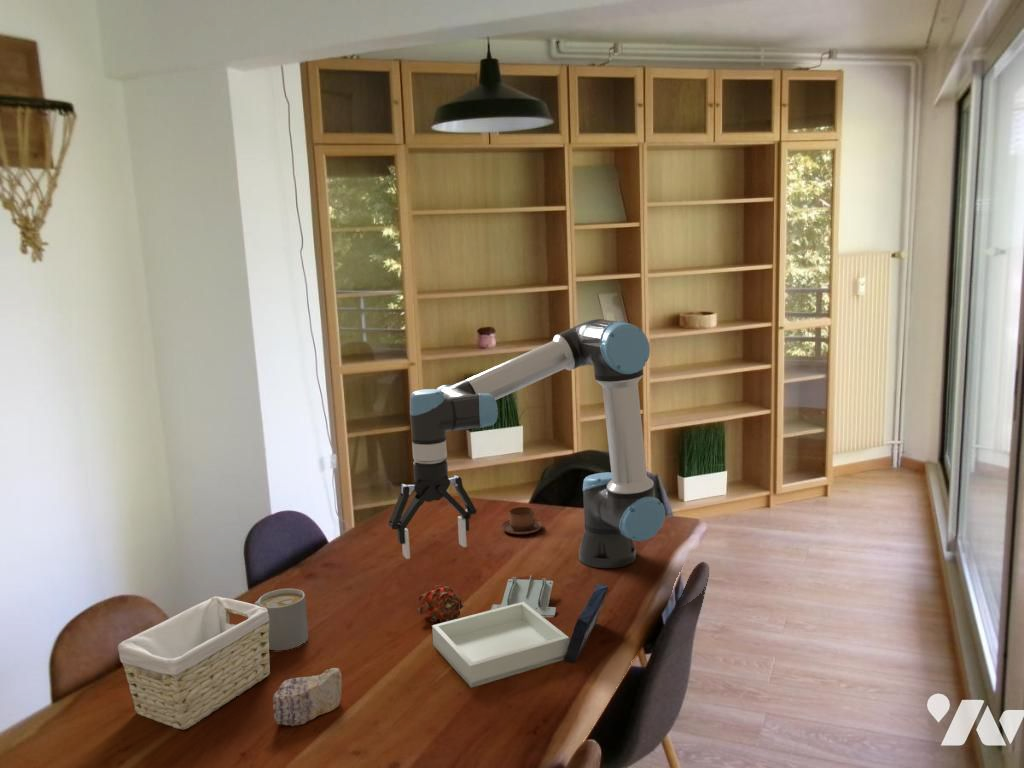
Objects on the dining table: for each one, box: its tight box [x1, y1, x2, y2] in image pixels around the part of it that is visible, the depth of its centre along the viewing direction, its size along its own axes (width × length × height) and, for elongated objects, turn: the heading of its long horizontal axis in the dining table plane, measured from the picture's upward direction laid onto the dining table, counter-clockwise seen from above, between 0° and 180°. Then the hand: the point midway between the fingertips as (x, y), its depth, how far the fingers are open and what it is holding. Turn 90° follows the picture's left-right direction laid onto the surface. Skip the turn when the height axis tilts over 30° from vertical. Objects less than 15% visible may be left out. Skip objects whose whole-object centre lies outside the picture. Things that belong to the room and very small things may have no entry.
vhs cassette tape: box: [563, 582, 609, 664], centre depth 174 cm, size 18×3×10 cm, turn 159°
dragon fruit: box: [417, 584, 465, 623], centre depth 188 cm, size 8×8×12 cm
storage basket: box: [117, 596, 271, 730], centre depth 159 cm, size 24×16×15 cm
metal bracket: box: [490, 575, 557, 618], centre depth 194 cm, size 14×6×15 cm
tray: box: [431, 602, 570, 688], centre depth 172 cm, size 22×20×4 cm
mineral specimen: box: [272, 667, 343, 727], centre depth 152 cm, size 14×8×7 cm, turn 135°
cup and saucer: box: [501, 506, 543, 536], centre depth 244 cm, size 12×12×6 cm
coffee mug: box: [254, 588, 310, 650], centre depth 182 cm, size 13×10×10 cm
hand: (435, 551), depth 186 cm, fingers open, 13 cm apart
